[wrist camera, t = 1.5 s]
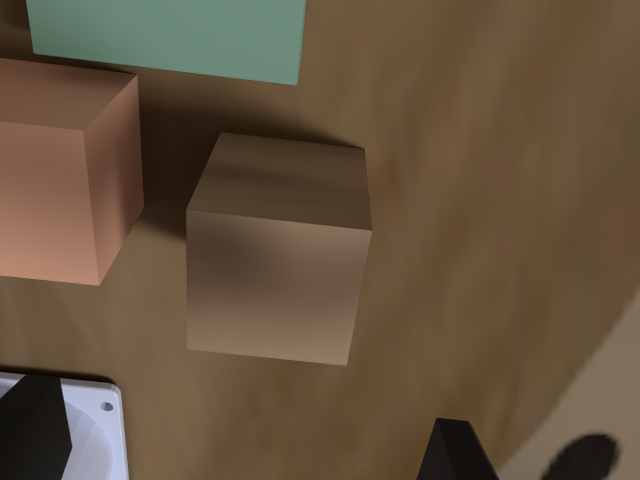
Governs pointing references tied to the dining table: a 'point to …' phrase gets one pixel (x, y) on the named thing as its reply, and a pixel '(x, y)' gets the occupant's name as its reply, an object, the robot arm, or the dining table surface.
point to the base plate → (176, 35)
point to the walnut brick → (277, 249)
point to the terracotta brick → (67, 169)
